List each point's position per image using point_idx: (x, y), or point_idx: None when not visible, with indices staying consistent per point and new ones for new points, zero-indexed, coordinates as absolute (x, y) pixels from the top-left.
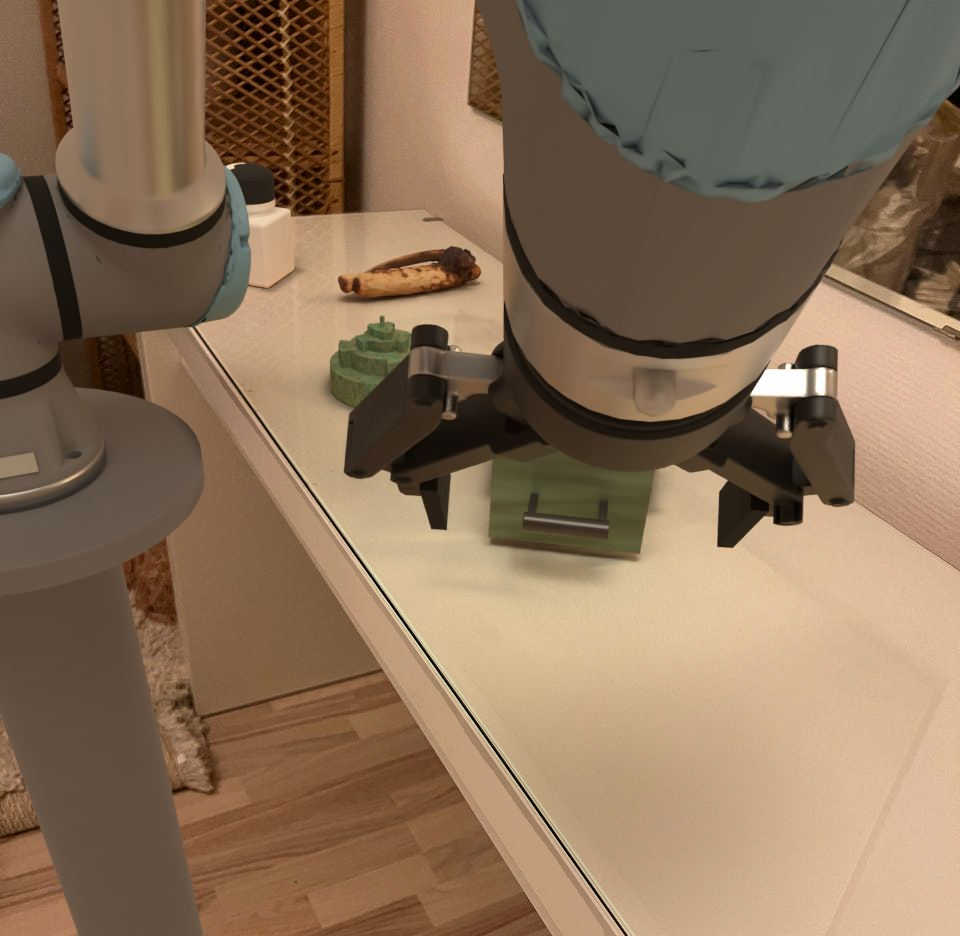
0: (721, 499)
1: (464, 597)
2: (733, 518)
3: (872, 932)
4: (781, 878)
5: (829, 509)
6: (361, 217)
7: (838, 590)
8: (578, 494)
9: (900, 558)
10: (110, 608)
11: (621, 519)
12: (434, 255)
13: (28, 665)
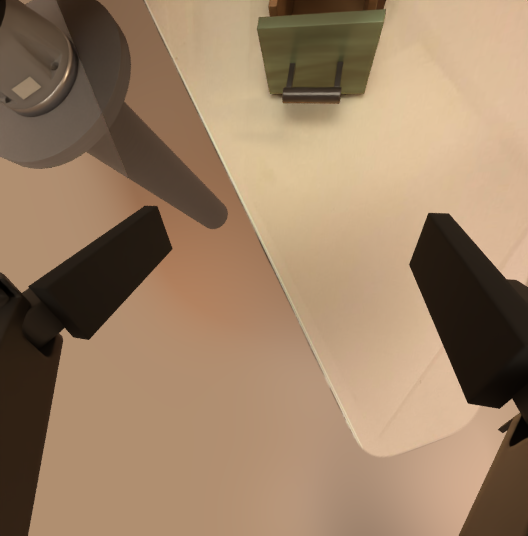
0: (428, 231)
1: (257, 147)
2: (436, 307)
3: (446, 377)
4: (404, 343)
5: (521, 6)
6: None
7: (502, 104)
8: (322, 59)
9: None
10: (128, 132)
11: (352, 73)
12: None
13: (112, 162)
